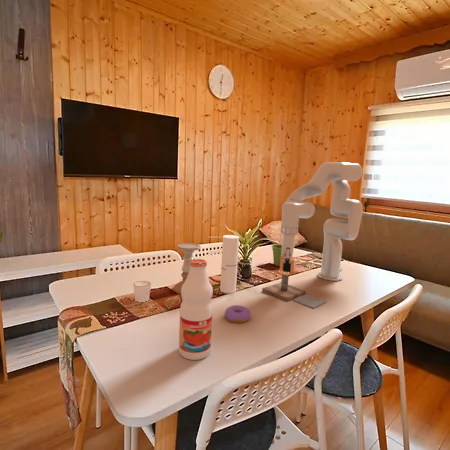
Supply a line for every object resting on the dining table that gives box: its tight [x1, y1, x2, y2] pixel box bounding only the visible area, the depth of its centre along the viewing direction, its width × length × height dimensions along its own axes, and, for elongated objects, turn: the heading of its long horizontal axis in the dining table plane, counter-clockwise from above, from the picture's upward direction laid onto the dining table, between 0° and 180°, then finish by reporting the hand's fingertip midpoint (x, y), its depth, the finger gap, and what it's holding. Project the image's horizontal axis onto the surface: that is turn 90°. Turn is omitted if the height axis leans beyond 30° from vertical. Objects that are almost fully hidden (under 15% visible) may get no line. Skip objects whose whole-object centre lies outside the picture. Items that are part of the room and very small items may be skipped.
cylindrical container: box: [219, 234, 240, 294], centre depth 143 cm, size 7×7×25 cm
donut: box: [224, 305, 252, 324], centre depth 118 cm, size 10×9×5 cm
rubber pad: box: [292, 293, 327, 309], centre depth 137 cm, size 10×10×1 cm
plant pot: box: [271, 243, 285, 267], centre depth 189 cm, size 12×12×11 cm
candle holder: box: [173, 242, 201, 294], centre depth 142 cm, size 12×12×20 cm
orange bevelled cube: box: [279, 256, 295, 272], centre depth 144 cm, size 6×6×5 cm
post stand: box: [261, 273, 307, 302], centre depth 145 cm, size 14×14×8 cm
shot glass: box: [132, 280, 152, 303], centre depth 129 cm, size 7×7×7 cm
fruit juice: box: [178, 258, 214, 361], centre depth 93 cm, size 9×9×28 cm
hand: (286, 268), depth 144 cm, fingers closed on orange bevelled cube, 6 cm apart
